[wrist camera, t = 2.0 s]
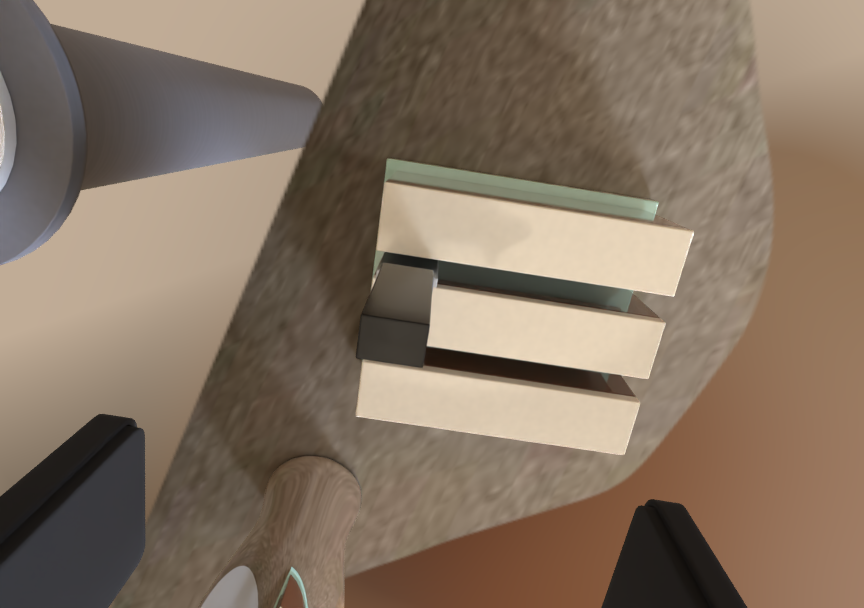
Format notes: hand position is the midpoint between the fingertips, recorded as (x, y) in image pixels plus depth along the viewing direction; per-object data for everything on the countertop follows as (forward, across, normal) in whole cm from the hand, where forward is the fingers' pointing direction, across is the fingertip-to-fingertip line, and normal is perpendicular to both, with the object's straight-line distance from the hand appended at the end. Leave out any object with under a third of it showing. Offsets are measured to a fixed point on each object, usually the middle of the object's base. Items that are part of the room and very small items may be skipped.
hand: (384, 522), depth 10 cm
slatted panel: (+20, -4, +1) cm, 21 cm away
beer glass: (+21, +4, +16) cm, 27 cm away
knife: (+20, +1, -1) cm, 20 cm away
